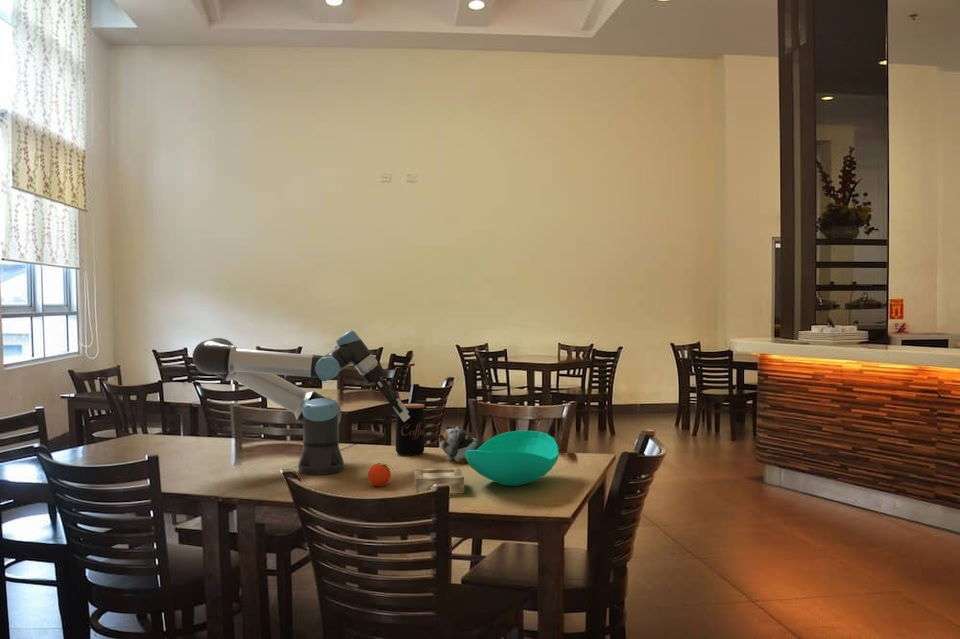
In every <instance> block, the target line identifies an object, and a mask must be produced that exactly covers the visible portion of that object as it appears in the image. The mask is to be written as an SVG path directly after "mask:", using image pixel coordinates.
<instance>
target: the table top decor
mask: <svg viewBox="0 0 960 639" xmlns="http://www.w3.org/2000/svg"><path fill="white" fill-rule="evenodd" d="M559 456H560V452H559V445H558V444H557V442H556V439H555V438H554V437H553V436H551V435H550V434H548V433H545V432H542V431H536V430H514V431H513V430H511V431H506V432H502V433H499V434H497V435H495V436H493V437H492V438H490V439H488V440H486V441H485V442H484V443H482V445H481V446H480V447H479V448H478V449H477V450H467V451H466V452H465V457H466V460H467V462H468V463H469V464H468V465H469V466H470V467H471V469H473V470H474V471H475V472H476V473H478V475H480V476H483V477H484V478H486V479H488V480H490V481H493V482H495V483H498V484H499V485H501V486H511V487H512V486H513V487H518V486H523V485H526V484H528V483H532V482H534V481H536V480H538V479H541V478H542V477H544V476H546V475H547V474H548V473H549V472H550V471H551V470H552V469H553V468H554V466H555V465H556V463H557V461H558V460H559Z"/></svg>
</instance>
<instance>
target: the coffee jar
mask: <svg viewBox="0 0 960 639" xmlns="http://www.w3.org/2000/svg"><path fill="white" fill-rule="evenodd" d="M402 404H403V405H404V406H405V407H406V409H407V410H408V411H409V413H407V414H408V415H409V416H410V418H409V419H407V420H406V421H405V422H403V420H402V419H401V418H400V416H399V415H398V414H397V412H396V411H395V451H396V454H398V455H403V456H404V455H405V456H416V455H422V454H424V452H425V428H426V427H425V426H426V425H425V420H426V418H425V410H424V408H425V404H423V403H402Z"/></svg>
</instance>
